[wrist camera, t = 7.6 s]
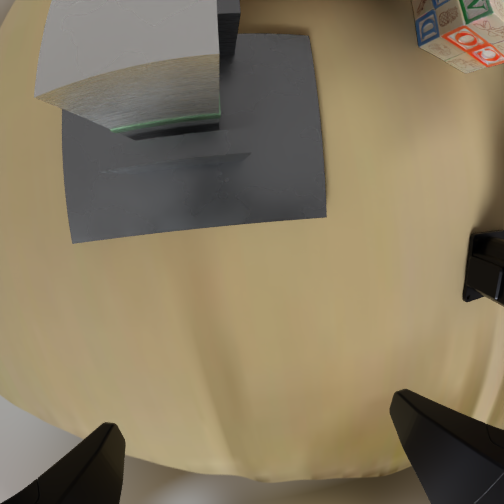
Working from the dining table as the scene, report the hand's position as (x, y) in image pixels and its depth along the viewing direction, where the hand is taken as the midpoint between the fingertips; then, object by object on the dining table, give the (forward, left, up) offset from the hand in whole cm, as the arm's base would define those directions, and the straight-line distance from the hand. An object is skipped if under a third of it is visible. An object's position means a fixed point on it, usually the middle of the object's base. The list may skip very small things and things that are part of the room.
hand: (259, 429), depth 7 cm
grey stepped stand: (+2, -10, -12) cm, 16 cm away
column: (+2, -12, -8) cm, 14 cm away
